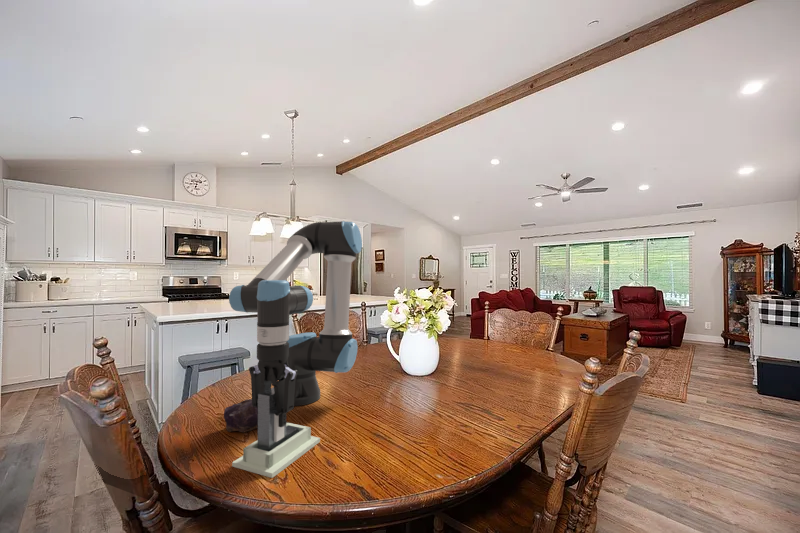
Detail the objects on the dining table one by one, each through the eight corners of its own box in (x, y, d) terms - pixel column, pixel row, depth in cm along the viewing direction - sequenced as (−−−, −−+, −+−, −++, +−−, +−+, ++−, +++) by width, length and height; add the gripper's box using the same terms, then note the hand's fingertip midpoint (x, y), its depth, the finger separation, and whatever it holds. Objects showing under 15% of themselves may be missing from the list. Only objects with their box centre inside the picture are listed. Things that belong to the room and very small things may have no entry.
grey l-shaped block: (257, 452, 84) (258, 393, 84) (288, 432, 94) (288, 380, 94) (268, 455, 83) (269, 396, 83) (298, 435, 93) (299, 382, 93)
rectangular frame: (232, 466, 82) (232, 449, 82) (284, 433, 99) (284, 419, 99) (272, 478, 78) (272, 459, 78) (320, 441, 94) (320, 426, 94)
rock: (226, 430, 104) (228, 444, 95) (222, 402, 103) (222, 413, 95) (268, 416, 109) (272, 428, 100) (263, 389, 109) (268, 399, 100)
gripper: (235, 342, 86) (234, 438, 86) (290, 348, 80) (289, 451, 80) (258, 337, 93) (257, 425, 93) (310, 342, 87) (309, 437, 86)
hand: (272, 437), depth 86 cm, fingers closed on grey l-shaped block, 3 cm apart
